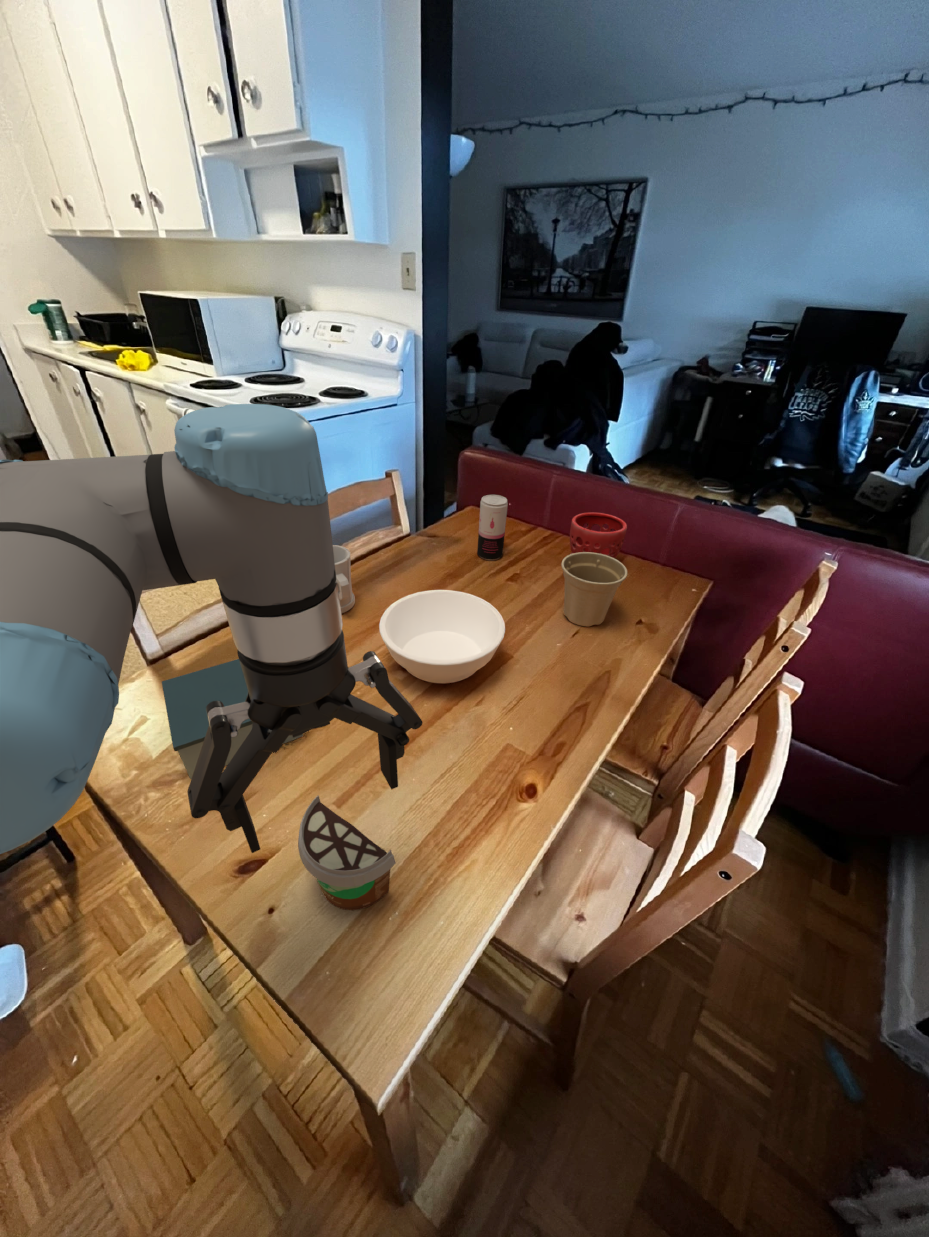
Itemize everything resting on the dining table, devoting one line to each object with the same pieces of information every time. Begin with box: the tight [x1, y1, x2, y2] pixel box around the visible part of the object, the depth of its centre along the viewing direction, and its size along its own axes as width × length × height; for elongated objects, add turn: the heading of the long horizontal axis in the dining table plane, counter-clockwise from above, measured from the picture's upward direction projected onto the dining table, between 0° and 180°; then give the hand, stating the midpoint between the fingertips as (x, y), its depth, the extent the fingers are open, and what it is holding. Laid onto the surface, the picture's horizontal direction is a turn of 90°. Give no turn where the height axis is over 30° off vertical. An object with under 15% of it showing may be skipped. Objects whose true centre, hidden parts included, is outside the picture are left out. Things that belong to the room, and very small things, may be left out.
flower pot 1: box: [569, 511, 628, 559], centre depth 123 cm, size 13×13×12 cm
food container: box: [297, 794, 396, 911], centre depth 56 cm, size 12×6×10 cm, turn 55°
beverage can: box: [476, 494, 509, 561], centre depth 124 cm, size 7×7×15 cm
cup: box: [333, 544, 356, 614], centre depth 103 cm, size 10×9×12 cm
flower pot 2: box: [560, 552, 628, 628], centre depth 104 cm, size 13×13×12 cm
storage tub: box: [161, 658, 304, 780], centre depth 76 cm, size 17×15×7 cm
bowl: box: [378, 589, 506, 684], centre depth 91 cm, size 22×22×8 cm
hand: (325, 807), depth 49 cm, fingers open, 13 cm apart
